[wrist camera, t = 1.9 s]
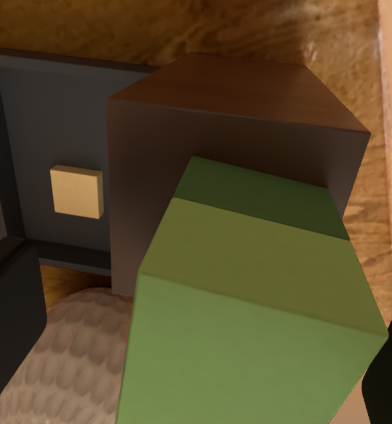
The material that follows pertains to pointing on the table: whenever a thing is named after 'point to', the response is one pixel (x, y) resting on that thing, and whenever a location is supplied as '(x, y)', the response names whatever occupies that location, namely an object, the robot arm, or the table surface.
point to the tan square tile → (77, 191)
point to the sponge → (247, 306)
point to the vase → (73, 363)
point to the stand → (219, 140)
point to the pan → (56, 150)
